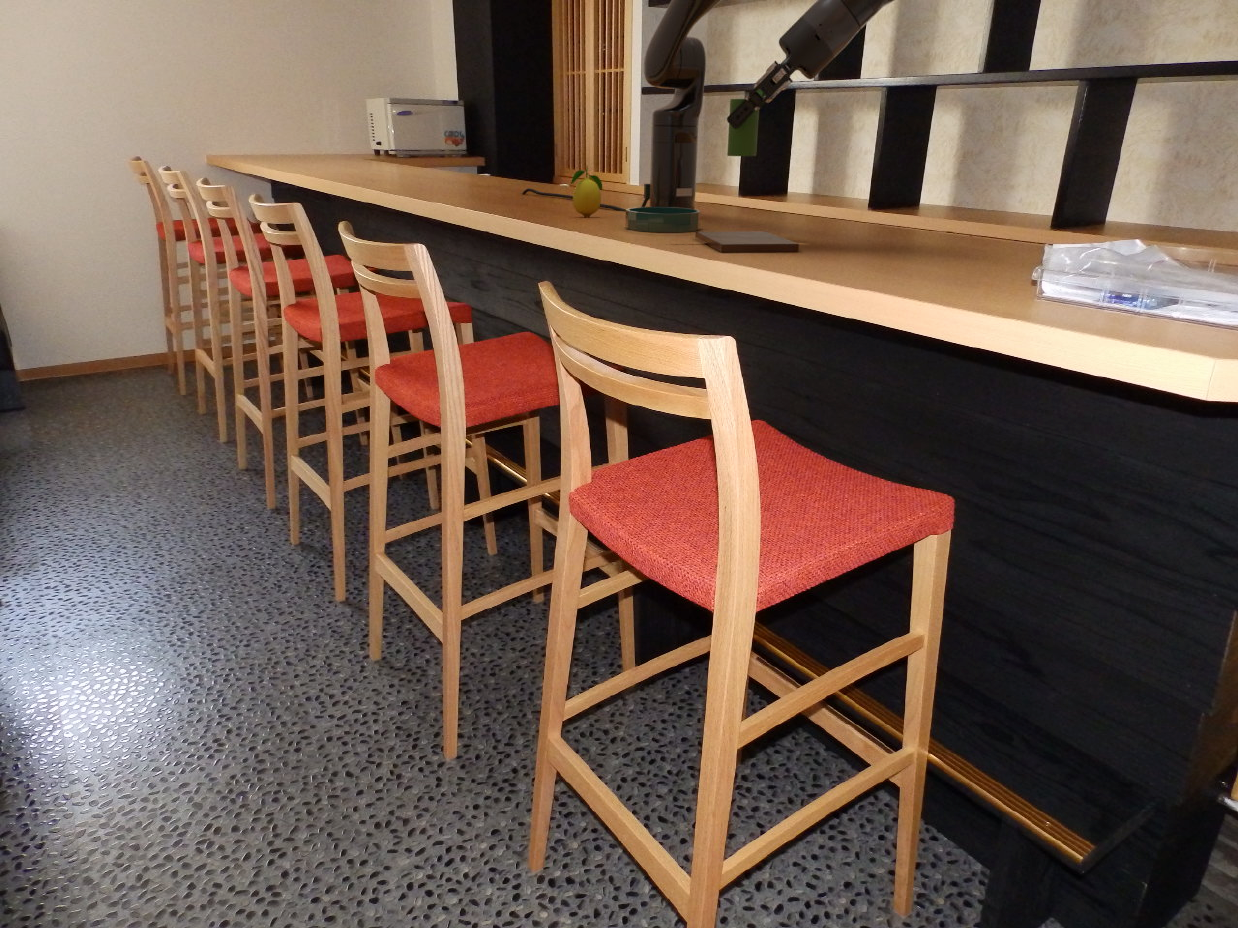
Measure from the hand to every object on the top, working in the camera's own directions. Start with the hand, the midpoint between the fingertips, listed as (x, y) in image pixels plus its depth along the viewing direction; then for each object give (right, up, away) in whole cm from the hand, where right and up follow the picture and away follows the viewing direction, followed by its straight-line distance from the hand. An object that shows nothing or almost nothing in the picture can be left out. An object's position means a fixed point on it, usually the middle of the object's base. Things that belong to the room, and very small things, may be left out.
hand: (730, 124), depth 128 cm
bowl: (-9, -10, +22) cm, 26 cm away
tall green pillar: (+2, -4, +1) cm, 5 cm away
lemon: (-23, -3, +39) cm, 46 cm away
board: (+3, -17, +5) cm, 18 cm away
